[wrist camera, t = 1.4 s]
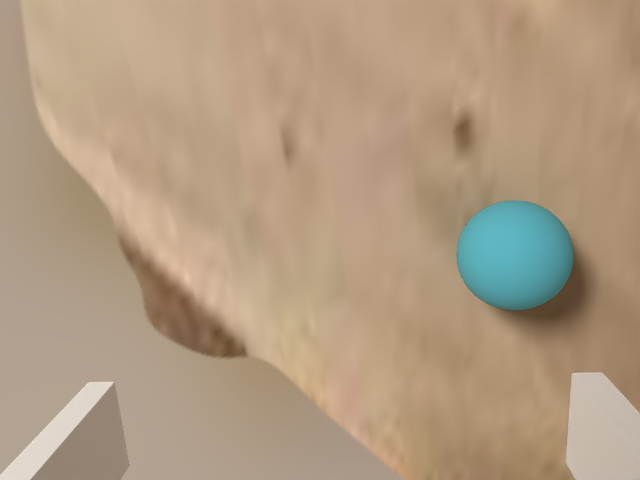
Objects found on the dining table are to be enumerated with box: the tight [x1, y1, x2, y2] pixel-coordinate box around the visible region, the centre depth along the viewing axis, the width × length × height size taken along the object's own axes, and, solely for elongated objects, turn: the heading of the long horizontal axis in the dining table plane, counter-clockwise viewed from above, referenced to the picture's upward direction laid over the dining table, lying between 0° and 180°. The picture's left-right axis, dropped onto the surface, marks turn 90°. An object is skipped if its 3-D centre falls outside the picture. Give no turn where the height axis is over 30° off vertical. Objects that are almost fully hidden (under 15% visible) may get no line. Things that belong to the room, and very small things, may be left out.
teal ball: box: [457, 201, 574, 310], centre depth 29 cm, size 6×6×6 cm
